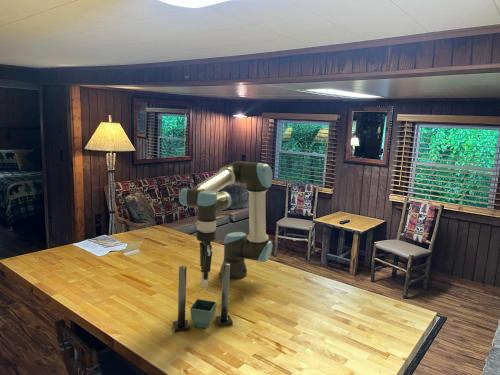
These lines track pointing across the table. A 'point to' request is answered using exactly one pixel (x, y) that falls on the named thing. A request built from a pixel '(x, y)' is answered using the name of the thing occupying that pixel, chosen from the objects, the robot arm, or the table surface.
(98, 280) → the table surface
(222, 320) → the post
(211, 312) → the flower pot
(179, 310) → the post
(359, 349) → the table surface
